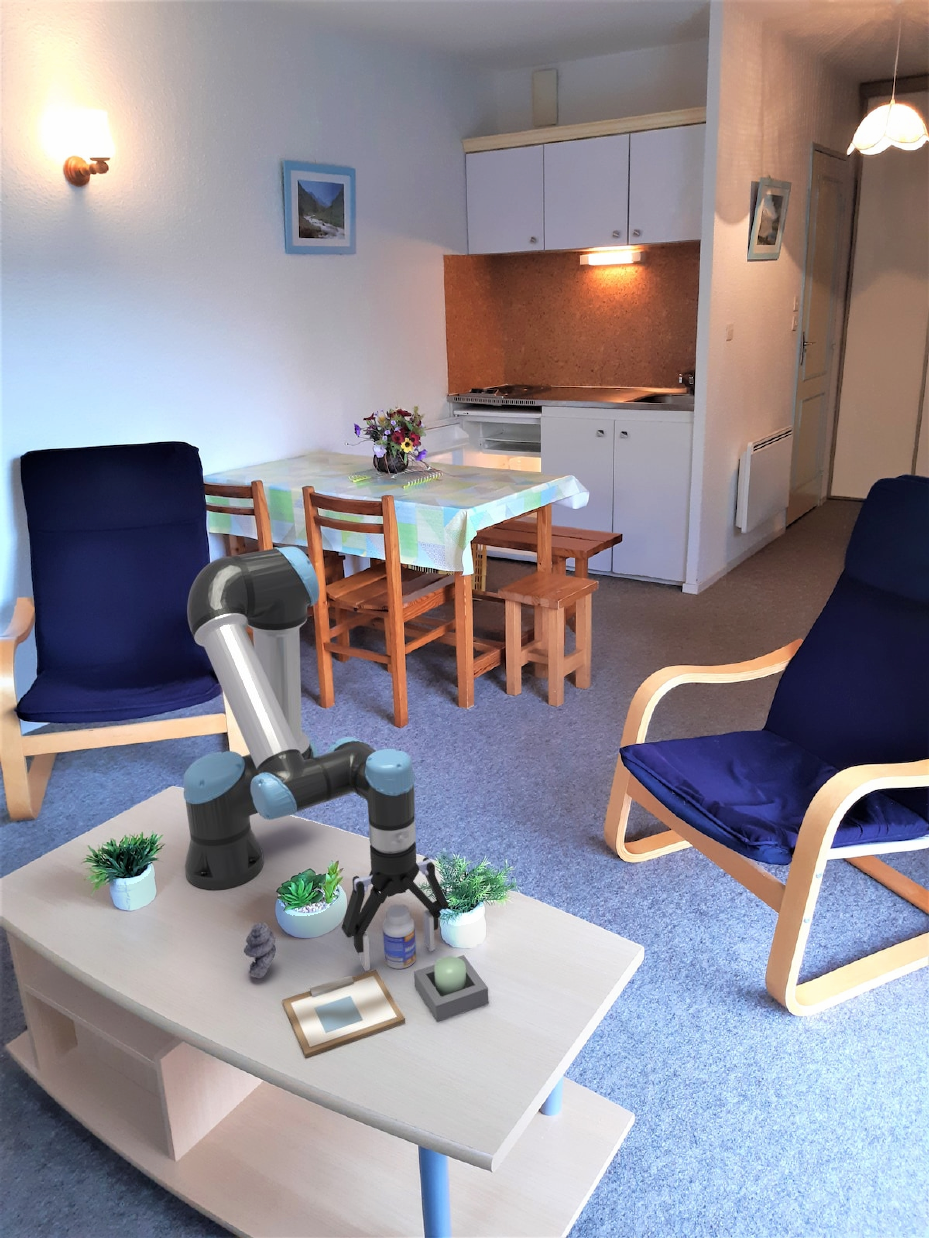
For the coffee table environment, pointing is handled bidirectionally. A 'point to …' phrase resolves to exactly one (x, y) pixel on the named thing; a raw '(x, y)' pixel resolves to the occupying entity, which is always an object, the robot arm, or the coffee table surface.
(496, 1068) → the coffee table surface
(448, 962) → the button
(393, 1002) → the clipboard
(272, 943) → the seashell
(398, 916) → the pill bottle
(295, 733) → the robot arm
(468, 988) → the button housing
